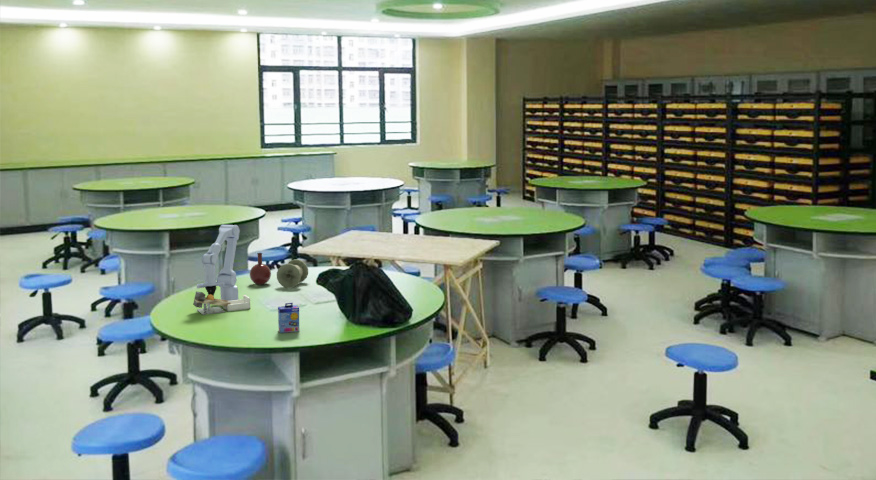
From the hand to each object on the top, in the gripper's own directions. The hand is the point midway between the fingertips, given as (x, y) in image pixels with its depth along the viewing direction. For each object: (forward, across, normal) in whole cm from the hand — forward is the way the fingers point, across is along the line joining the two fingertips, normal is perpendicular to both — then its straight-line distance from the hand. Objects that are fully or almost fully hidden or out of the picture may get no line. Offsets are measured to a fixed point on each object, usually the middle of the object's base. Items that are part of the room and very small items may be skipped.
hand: (211, 299), depth 416 cm
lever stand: (+5, -2, -7) cm, 8 cm away
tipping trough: (+3, -2, -4) cm, 5 cm away
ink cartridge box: (+5, +21, -66) cm, 69 cm away
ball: (-2, -2, -6) cm, 7 cm away
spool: (+5, +60, +36) cm, 70 cm away
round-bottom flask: (+5, +43, +48) cm, 64 cm away
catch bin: (+5, +12, -6) cm, 15 cm away
